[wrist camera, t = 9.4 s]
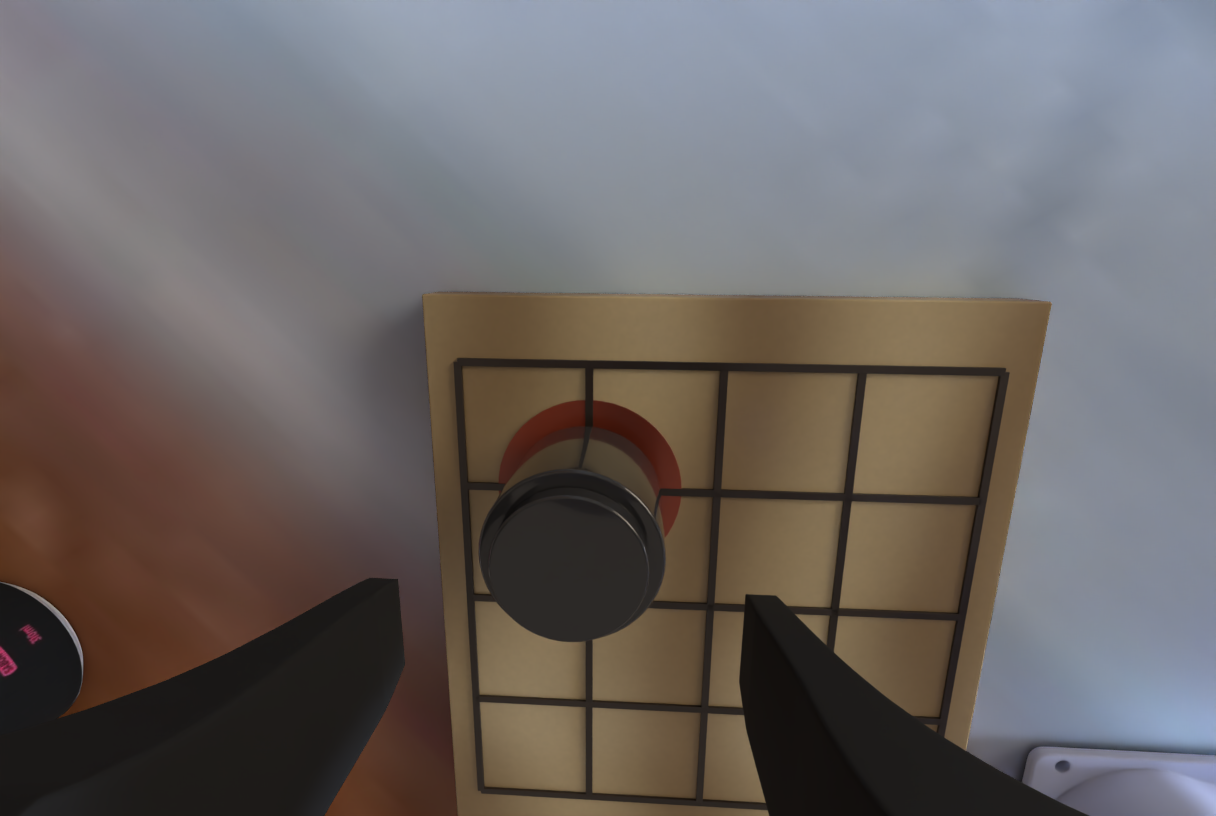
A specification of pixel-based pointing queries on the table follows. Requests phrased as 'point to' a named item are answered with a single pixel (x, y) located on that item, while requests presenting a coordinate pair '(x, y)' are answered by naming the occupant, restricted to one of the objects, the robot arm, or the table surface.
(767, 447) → the board
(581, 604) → the black canister
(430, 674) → the table surface
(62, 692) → the beverage can
